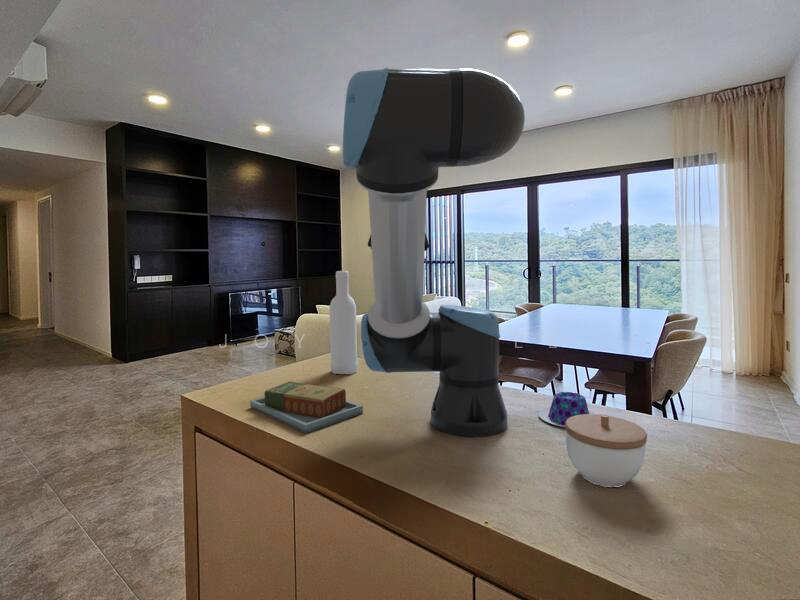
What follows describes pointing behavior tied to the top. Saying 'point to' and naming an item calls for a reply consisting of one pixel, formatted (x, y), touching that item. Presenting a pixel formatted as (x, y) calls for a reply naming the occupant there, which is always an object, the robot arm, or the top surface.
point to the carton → (306, 399)
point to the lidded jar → (605, 448)
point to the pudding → (564, 408)
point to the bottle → (343, 328)
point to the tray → (304, 421)
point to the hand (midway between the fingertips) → (400, 277)
